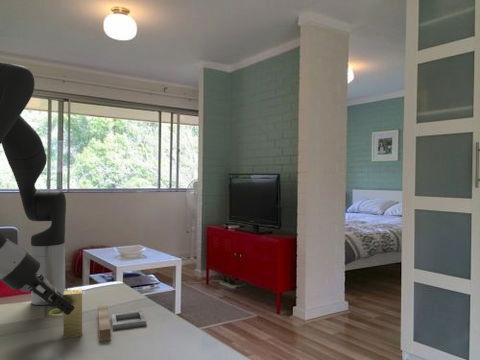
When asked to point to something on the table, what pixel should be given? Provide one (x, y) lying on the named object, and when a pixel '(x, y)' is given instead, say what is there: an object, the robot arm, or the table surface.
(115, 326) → the keeper
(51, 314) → the key
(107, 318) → the brown square bar
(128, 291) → the table surface
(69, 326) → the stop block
